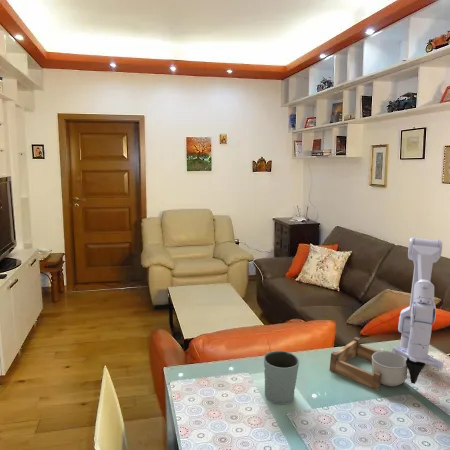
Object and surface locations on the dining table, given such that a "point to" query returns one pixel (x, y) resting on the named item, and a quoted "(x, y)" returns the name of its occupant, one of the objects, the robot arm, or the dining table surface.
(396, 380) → the teacup
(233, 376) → the dining table surface
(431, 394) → the dining table surface
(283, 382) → the grey tumbler
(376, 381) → the wooden frame
